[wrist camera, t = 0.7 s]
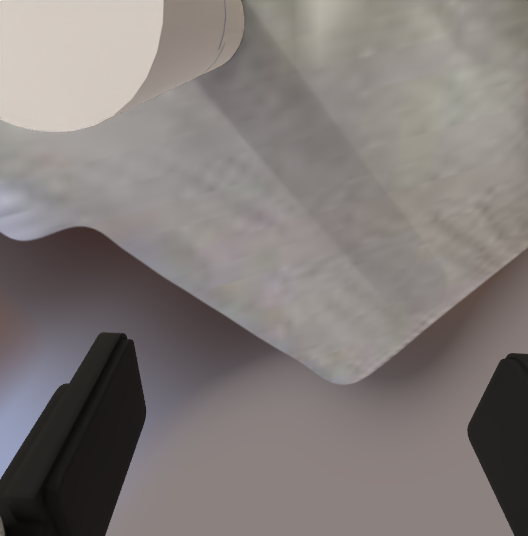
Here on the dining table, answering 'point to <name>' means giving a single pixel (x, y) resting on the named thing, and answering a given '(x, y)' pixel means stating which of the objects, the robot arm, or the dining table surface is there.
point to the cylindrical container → (105, 55)
